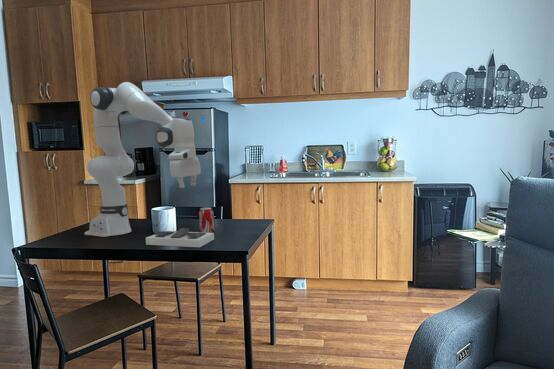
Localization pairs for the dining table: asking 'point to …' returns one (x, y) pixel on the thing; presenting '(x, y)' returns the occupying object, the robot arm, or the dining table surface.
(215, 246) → the dining table surface
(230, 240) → the dining table surface
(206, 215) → the soda can
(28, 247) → the dining table surface
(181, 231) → the middle rocker
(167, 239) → the rocker switch panel
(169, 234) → the rocker
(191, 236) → the rocker
